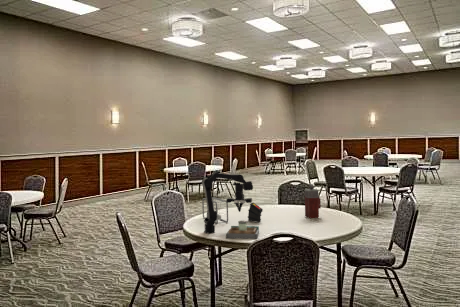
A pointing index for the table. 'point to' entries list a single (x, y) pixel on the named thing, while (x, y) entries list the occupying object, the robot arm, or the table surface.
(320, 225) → the table surface
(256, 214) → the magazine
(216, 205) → the newton's cradle
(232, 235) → the grey shallow box
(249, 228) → the tray
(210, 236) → the table surface
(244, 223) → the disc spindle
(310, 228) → the table surface
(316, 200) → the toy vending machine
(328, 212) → the table surface
